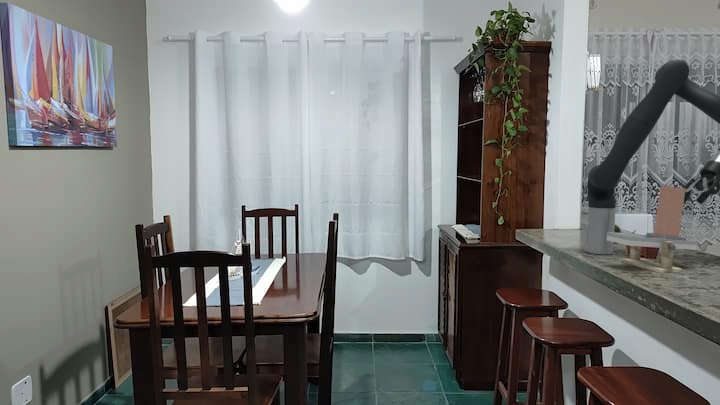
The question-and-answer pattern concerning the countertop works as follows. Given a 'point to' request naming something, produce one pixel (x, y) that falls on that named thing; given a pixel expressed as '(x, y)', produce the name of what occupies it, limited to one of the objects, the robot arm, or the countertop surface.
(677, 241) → the beam
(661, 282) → the countertop surface
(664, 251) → the pivot stand
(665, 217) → the block
